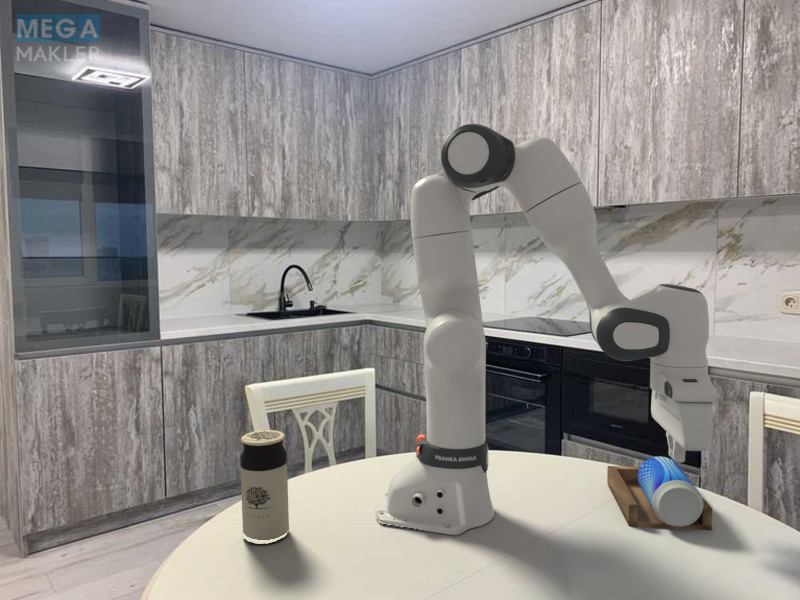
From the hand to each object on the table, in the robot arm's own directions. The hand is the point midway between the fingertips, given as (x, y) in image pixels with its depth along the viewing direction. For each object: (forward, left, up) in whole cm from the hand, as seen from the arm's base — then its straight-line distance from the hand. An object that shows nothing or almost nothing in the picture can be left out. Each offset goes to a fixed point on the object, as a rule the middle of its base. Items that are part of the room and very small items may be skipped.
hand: (676, 459), depth 101 cm
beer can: (+1, +1, -9) cm, 9 cm away
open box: (0, +12, -14) cm, 18 cm away
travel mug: (-71, -8, -14) cm, 73 cm away
